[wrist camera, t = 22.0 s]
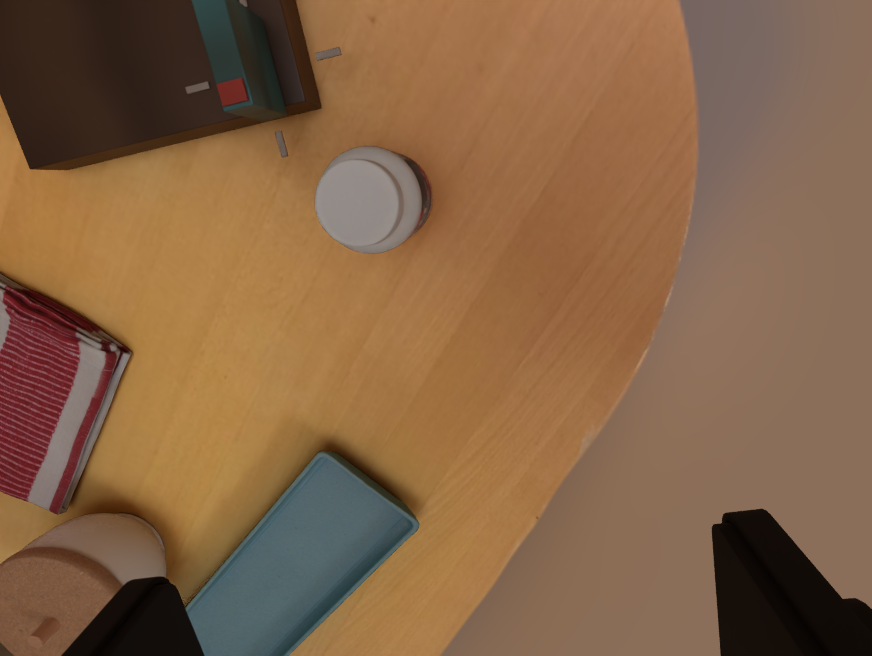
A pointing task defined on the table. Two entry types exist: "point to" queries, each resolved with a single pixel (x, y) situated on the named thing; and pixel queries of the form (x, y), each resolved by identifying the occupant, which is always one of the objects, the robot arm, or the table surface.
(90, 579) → the trinket box
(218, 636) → the teal serving tray
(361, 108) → the table surface
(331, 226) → the pill bottle
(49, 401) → the dish towel
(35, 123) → the holder base
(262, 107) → the teal long angular block
